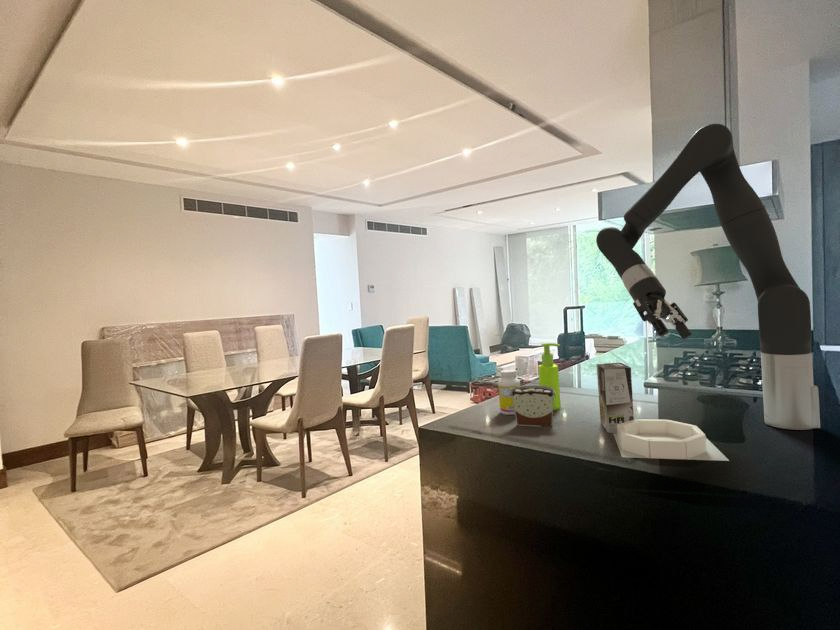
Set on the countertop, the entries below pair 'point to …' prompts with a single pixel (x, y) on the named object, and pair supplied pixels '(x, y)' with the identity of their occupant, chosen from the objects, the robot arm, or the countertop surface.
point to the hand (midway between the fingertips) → (676, 335)
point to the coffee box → (614, 395)
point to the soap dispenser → (550, 373)
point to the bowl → (661, 438)
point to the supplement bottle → (507, 391)
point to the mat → (709, 455)
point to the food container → (533, 405)
